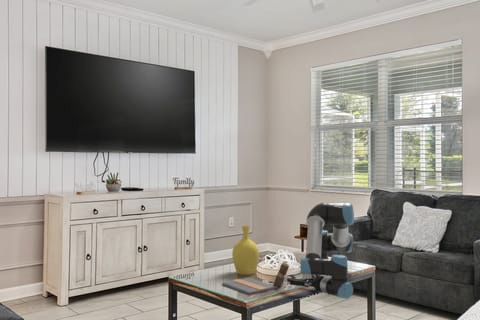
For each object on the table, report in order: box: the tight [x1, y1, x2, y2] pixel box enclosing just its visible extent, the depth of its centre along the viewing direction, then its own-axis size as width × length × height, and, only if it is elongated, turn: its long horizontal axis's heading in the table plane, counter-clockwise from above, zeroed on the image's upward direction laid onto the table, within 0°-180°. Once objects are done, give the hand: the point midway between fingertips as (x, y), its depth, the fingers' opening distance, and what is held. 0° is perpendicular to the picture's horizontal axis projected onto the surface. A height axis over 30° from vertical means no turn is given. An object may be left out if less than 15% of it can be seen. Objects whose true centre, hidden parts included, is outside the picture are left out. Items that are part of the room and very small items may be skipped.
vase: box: [231, 225, 260, 276], centre depth 273 cm, size 16×16×28 cm
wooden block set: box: [272, 262, 296, 289], centre depth 248 cm, size 18×9×10 cm, turn 147°
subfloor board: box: [221, 277, 278, 296], centre depth 241 cm, size 18×24×2 cm
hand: (293, 276), depth 240 cm, fingers open, 13 cm apart
